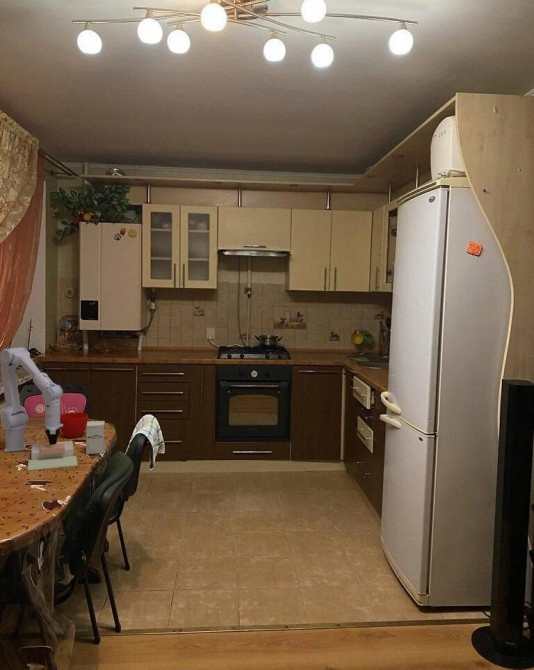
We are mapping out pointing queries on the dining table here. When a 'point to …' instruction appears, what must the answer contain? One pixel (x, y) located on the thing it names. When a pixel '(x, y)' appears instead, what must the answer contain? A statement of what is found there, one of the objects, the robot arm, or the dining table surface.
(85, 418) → the ceramic cup
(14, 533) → the dining table surface
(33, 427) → the dining table surface
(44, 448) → the tile
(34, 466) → the mat
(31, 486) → the dining table surface
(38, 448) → the deck
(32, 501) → the dining table surface
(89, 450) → the supplement box
